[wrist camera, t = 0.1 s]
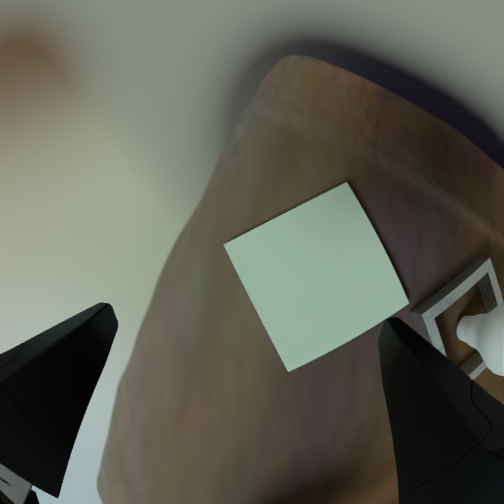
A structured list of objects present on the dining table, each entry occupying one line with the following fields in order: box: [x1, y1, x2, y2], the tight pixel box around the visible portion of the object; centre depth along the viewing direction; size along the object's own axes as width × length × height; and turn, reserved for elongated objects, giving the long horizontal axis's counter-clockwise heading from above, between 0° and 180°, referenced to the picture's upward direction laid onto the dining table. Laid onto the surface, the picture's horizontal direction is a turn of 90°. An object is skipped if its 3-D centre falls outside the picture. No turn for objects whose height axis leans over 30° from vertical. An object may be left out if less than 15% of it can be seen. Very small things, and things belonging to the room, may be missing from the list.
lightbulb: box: [456, 302, 504, 376], centre depth 15 cm, size 6×6×11 cm
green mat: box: [224, 182, 409, 372], centre depth 22 cm, size 12×12×1 cm
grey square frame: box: [410, 258, 503, 380], centre depth 19 cm, size 10×10×2 cm
